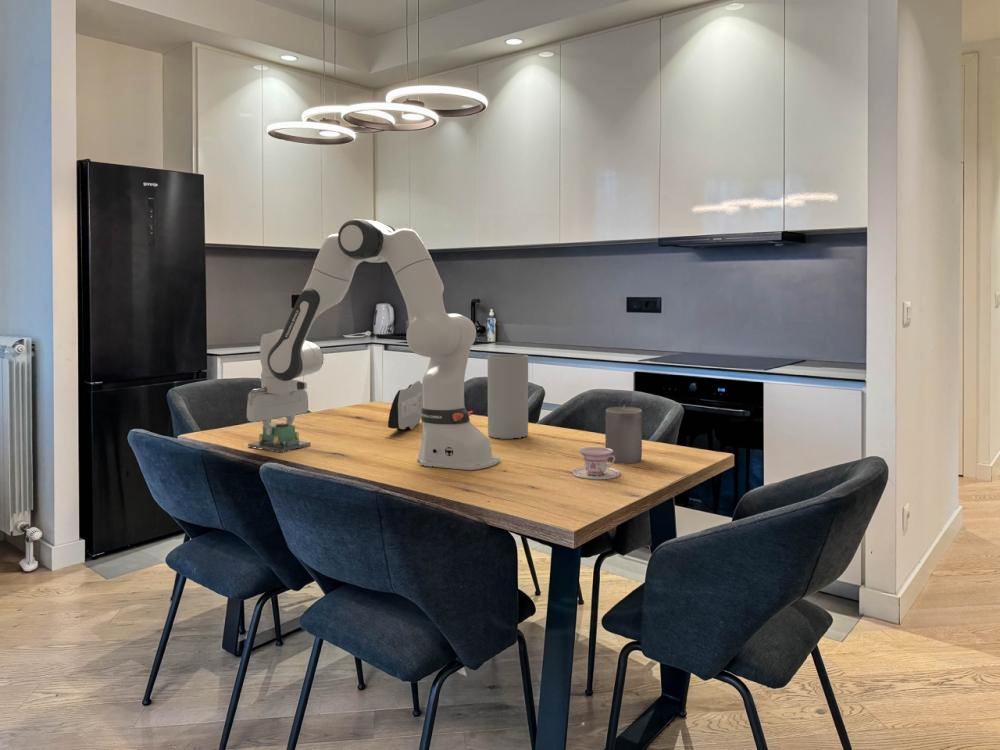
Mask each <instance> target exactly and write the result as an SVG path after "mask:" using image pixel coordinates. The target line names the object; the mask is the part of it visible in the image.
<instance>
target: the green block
mask: <svg viewBox="0 0 1000 750" xmlns="http://www.w3.org/2000/svg"><path fill="white" fill-rule="evenodd" d="M270 426H271V428H274V434H273V435H267V434H266V428H265V427H264V425H262V434H263V439H264V440H271V441H274V436H278V439H279V442H285V441H290V440H295V432H296V426H295V425H294V424H292V425H288V424H286V423H284V422H283V423H278V422H277V423H276V422H275V423H270Z"/></svg>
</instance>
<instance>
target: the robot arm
mask: <svg viewBox="0 0 1000 750" xmlns="http://www.w3.org/2000/svg"><path fill="white" fill-rule="evenodd" d="M362 262H366V263H372V264H373V263H374V264H375V263H377V264H388V265H389V267H390V269H391V271H392V273H393V277H394V279H395V282H396V283H397V286H398V288H399V290H400V294H401V296H402V297H403V300H404V303H405V306H406V312H407V318H408V327H407V330H406V342H407V345H408V347H409V349H410V350H411V351H412V353H415V354H416V355H419V356H422V357H426V358H430V359H429V363H428V367H427V370H426V371H425V373H424V375H423V377H422V384H423V407H422V408H421V419H420V421H421V423H422V427H421V428H422V432H421V440H420V447H419V452H418V456H417V461H418V462H419V465H420V466H422V465H424V466H423V467H432V466H433V467H434V468H445V469H455V470H464V471H465V470H466V471H473V470H474V471H475V470H480V469H485V468H489V467H492V466H495V465H497V464H499V463H500V462H501V457H500V456H498V455H493V454H492V447H491V445H492V444H491V442H490V439H489V438H488V436H486V435H485V434H484V433H483V432H482V431H481V430H480V429H478V427H477V426H476V425H474V424H473V423H472V422H471V419H470V416H473V415H474V414H473V412H474V411H473V410H470V411H468V410H467V408H466V406H465V377H466V376H465V375H466V371H467V370H466V369H467V366H468V360H469V357H470V351H471V349H472V346H473V344H474V343H475V341H476V337H477V329H476V325H475V323H474V322H473V321H472V320H471V319H470V318H469V317H467V316H464V315H462V314H460V313H447V312H446V308H445V304H444V297H443V293H444V291H445V286H444V283H443V281H442V279H441V277H440V274H439V271H438V269H437V267H436V265H435V263H434V260H433V259H432V256H431V254H430V252H429V250H428V248H427V247H426V245H425V243H424V242H423V240H422V238H421V237H420V236H419V234H418V232H416V231H415V230H413V229H410V228H401V229H396V228H394V227H392V226H390V225H388V224H383V223H381V222H379V221H376V220H372V219H371V220H370V219H363V218H355V219H354V218H353V219H350V220H348V221H345V222H344V223H343V224H342V225H341V227H340V228H339V231H338V233H334V234H333V233H332V234H330V235H328V237H326V238H325V240H324V242H323V243H322V245H321V247H320V249H319V251H318V254H317V256H316V258H315V260H314V262H313V267H312V270H311V272H310V275H309V277H308V279H307V281H306V283H305V286H304V288H303V290H302V291H301V293H300V294H299V296H298V298H297V299H296V301H295V303H294V306H293V309H292V310H291V312H290V314H289V317H288V319H287V322H286V323H285V325H284V329H282V328H281V329H276V330H270V331H265V333H263V334H262V336H261V339H260V345H259V347H260V349H259V355H260V357H259V360H260V361H259V362H260V364H261V372H260V373H261V374H260V382H261V383H260V385H261V387H260V388H253V389H251V390H250V391H249V393H248V394H247V404H246V405H247V406H246V419H247V421H248V422H251V423H252V422H253V423H259V422H261V423H262V426H264V427H265V428H266V434H267V435H273V434H274V428H271V426H270V424H272V420H276V419H281V418H285V419H286V423H285V424H288V425H293V423H294V421H295V416H298V415H302V414H307V412H308V410H309V396H308V392H307V391H306V389H307V388H308V386H307V385H308V384H307V382H305V381H302V380H298V379H296V378H300V377H305V376H308V375H312V374H314V373H317V372H318V371H320V370H321V368H322V367H323V365H324V359H325V358H324V353H323V350H322V348H321V347H320V346H319V344H317V343H315V342H311V341H309V340H307V337H308V335H309V332H310V330H311V327H312V325H313V324H314V322H315V320H316V319H317V318H318V317H319V316H320V315H321V314H323V312H325V311H327V310H328V309H330V308H332V307H335V306H336V305H338V304H339V303H341V302H342V301H343V299H344V298H345V296H346V294H347V293H348V291H349V288H350V287H351V283H352V280H353V279H354V274H355V272H356V269H357V267H358V265H360V263H362Z"/></svg>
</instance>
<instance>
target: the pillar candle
mask: <svg viewBox="0 0 1000 750" xmlns="http://www.w3.org/2000/svg"><path fill="white" fill-rule="evenodd" d="M642 432H643V409H641V408H639V407H633V406H625V404H623V406H611V407H607V408H606V409H605V433H604V434H605V437H604V439H605V441H604V442H605V446H604V448H609V449H612V450H613V452H612V453H611V455H613V454H615V455H616V456H615V461H614V463H613V464H620V463H627V464H636V463H637V462H638V463H640V462H642V456H643V455H642V453H643V433H642ZM613 459H614V458H613V457H609V459H608V460H607V462H608V461H610V462H609V463H612V462H613Z"/></svg>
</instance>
